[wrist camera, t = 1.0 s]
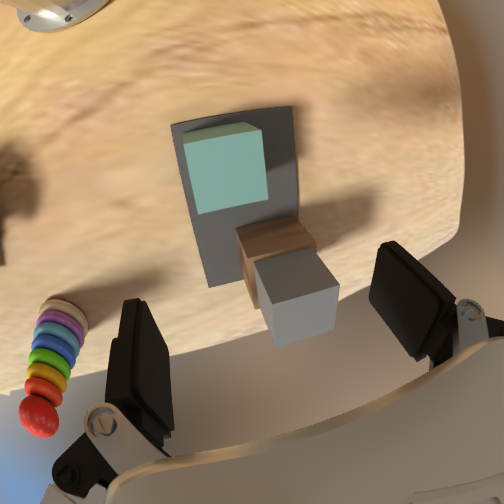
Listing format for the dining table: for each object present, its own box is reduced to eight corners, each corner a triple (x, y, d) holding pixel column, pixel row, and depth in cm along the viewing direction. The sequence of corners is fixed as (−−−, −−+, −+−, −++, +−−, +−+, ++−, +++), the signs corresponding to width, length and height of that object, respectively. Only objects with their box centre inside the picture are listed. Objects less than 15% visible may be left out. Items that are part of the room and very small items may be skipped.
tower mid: (253, 261, 26) (272, 304, 22) (311, 247, 27) (339, 284, 22) (259, 305, 30) (275, 347, 25) (310, 291, 31) (333, 329, 26)
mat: (170, 125, 23) (170, 125, 23) (290, 106, 25) (291, 106, 25) (208, 285, 35) (209, 287, 35) (297, 263, 37) (299, 265, 36)
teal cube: (182, 133, 24) (183, 144, 19) (244, 121, 25) (261, 130, 20) (193, 189, 27) (198, 214, 22) (251, 177, 28) (268, 199, 23)
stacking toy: (72, 291, 30) (40, 423, 15) (98, 331, 35) (87, 451, 20) (32, 301, 29) (-5, 416, 14) (58, 338, 34) (40, 446, 18)
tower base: (234, 228, 31) (247, 258, 26) (294, 215, 32) (316, 241, 27) (243, 276, 35) (255, 309, 30) (295, 263, 36) (314, 293, 31)
